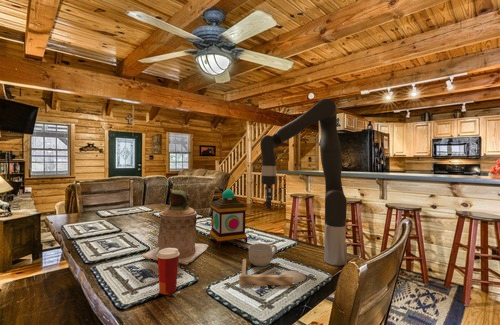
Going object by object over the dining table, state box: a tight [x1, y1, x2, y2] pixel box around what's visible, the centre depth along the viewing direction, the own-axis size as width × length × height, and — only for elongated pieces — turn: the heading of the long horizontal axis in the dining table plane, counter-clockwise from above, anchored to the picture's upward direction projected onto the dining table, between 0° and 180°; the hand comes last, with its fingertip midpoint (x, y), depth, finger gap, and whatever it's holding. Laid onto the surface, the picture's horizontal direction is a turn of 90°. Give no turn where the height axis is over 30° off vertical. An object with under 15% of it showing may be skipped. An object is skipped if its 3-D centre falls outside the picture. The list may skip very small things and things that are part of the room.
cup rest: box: [238, 258, 294, 286], centre depth 103 cm, size 20×17×3 cm
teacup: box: [247, 242, 278, 267], centre depth 114 cm, size 14×11×8 cm
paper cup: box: [156, 248, 180, 296], centre depth 89 cm, size 8×8×14 cm
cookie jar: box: [141, 188, 209, 265], centre depth 125 cm, size 25×25×32 cm
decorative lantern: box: [208, 188, 248, 248], centre depth 145 cm, size 20×20×30 cm
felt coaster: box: [279, 270, 306, 284], centre depth 101 cm, size 10×10×1 cm
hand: (268, 207), depth 129 cm, fingers open, 6 cm apart
